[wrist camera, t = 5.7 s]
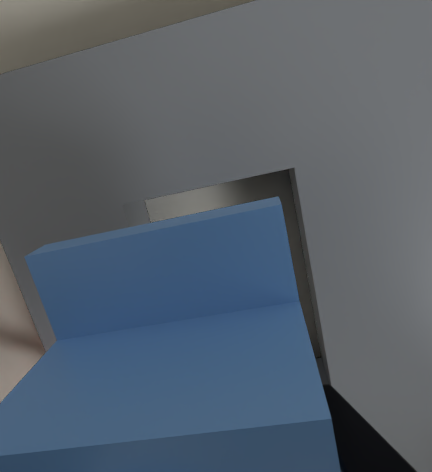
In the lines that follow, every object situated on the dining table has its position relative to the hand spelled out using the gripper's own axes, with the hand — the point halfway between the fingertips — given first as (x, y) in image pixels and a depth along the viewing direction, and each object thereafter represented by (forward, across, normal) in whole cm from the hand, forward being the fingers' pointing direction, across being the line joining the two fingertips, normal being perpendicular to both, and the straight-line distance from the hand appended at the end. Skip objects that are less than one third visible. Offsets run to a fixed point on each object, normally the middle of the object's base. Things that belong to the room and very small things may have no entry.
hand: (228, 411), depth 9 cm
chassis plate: (+8, 0, 0) cm, 8 cm away
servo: (+1, 0, 0) cm, 1 cm away
